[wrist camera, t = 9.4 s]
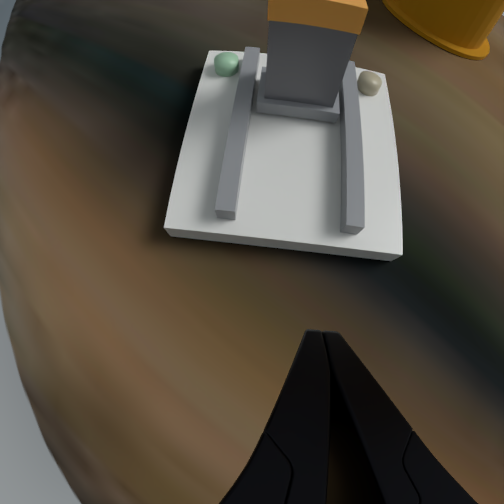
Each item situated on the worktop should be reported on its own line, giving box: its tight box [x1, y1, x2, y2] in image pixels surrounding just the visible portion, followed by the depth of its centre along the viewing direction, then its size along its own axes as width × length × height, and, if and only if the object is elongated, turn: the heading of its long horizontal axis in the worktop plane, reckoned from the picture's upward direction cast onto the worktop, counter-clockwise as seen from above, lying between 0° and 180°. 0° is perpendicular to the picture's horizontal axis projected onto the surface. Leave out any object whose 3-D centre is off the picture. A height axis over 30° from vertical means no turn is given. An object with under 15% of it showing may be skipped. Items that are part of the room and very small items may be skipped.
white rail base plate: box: [164, 47, 403, 261], centre depth 23 cm, size 17×16×4 cm
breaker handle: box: [256, 0, 368, 123], centre depth 18 cm, size 4×6×10 cm, turn 84°
